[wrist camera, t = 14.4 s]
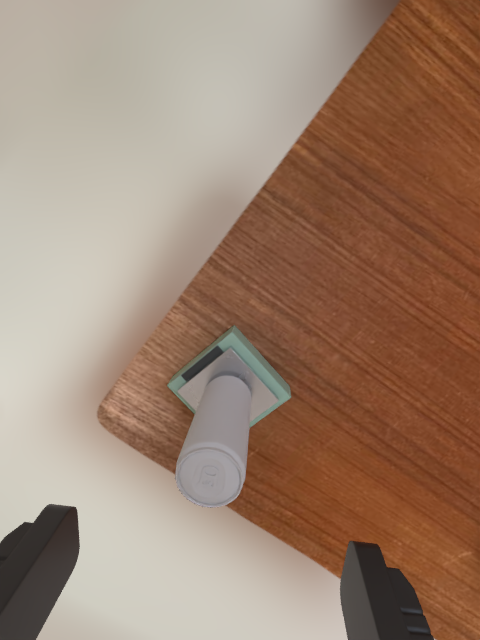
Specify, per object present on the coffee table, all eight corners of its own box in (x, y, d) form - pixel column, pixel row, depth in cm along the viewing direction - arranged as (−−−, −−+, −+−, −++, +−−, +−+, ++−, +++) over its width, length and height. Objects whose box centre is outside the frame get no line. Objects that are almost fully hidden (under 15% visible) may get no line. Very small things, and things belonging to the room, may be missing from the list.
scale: (172, 375, 39) (166, 386, 36) (234, 324, 37) (231, 332, 34) (227, 432, 40) (224, 447, 38) (289, 386, 38) (291, 398, 36)
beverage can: (199, 411, 36) (167, 500, 24) (208, 367, 35) (179, 440, 23) (246, 422, 36) (236, 516, 24) (257, 378, 35) (252, 457, 23)
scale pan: (178, 387, 36) (176, 391, 36) (231, 344, 35) (230, 347, 34) (225, 436, 37) (224, 441, 37) (278, 397, 36) (279, 400, 35)
